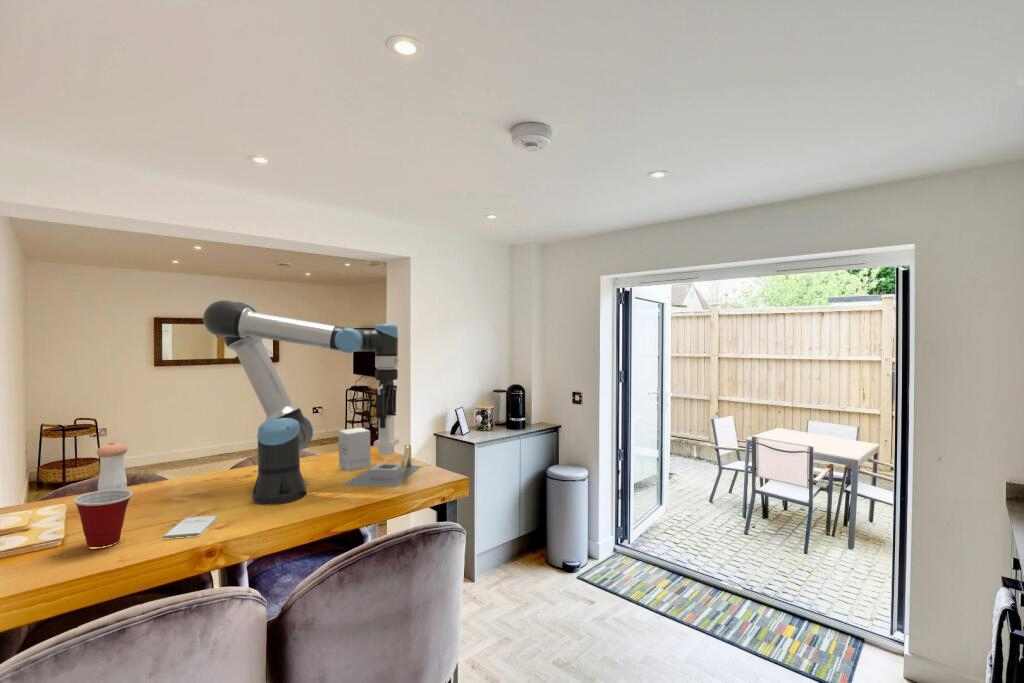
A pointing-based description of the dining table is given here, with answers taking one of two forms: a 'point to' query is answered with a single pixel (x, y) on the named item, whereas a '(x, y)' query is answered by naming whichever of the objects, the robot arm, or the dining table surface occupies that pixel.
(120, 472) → the pepper shaker
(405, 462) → the clip
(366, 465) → the supplement box
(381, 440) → the plug
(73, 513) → the dining table surface
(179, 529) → the external hard drive
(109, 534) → the plastic cup
